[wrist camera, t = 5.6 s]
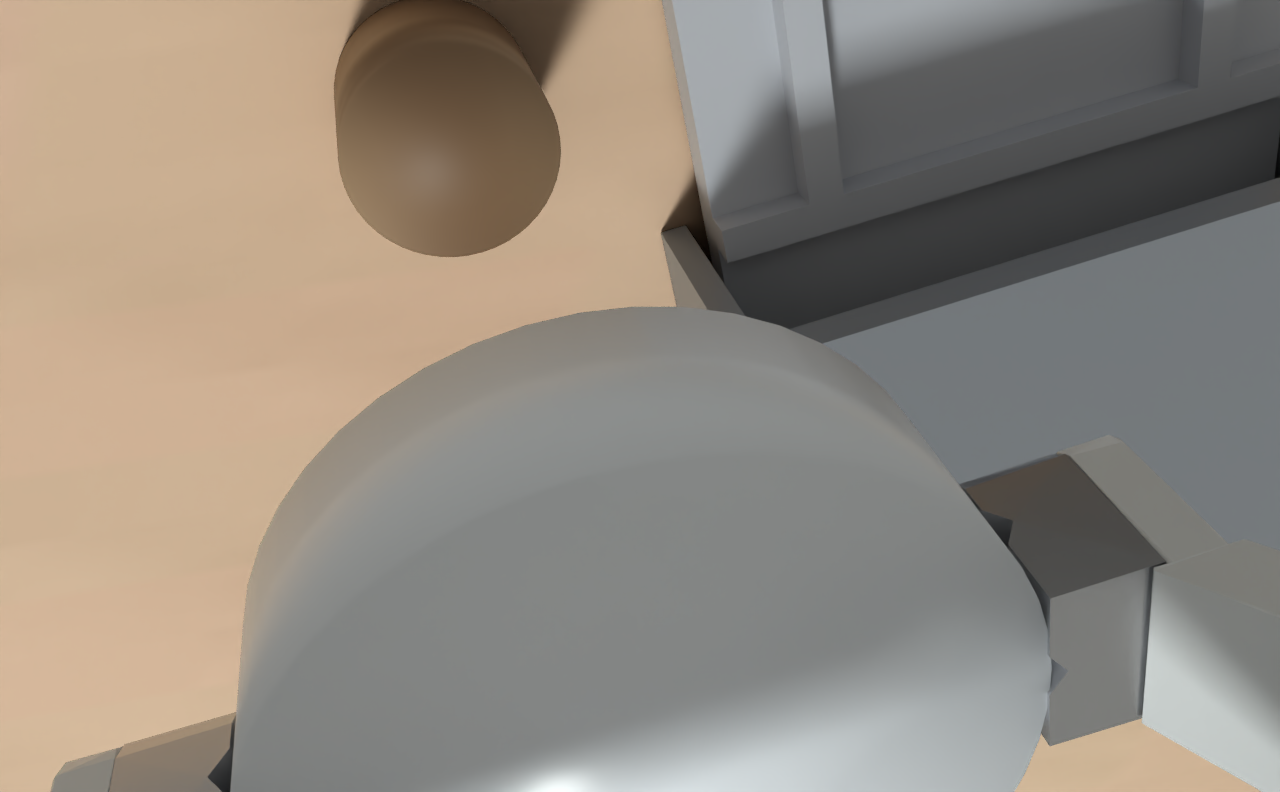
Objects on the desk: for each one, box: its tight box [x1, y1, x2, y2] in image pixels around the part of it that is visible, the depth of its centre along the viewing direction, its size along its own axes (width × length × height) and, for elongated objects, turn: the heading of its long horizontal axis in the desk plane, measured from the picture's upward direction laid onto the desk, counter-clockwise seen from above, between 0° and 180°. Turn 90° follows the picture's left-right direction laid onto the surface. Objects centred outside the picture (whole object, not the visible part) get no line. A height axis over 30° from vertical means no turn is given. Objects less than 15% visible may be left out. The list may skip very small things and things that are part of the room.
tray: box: [662, 0, 1280, 329], centre depth 23 cm, size 16×13×6 cm
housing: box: [661, 135, 1280, 551], centre depth 29 cm, size 16×13×6 cm
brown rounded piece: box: [334, 0, 561, 257], centre depth 23 cm, size 4×4×4 cm
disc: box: [230, 307, 1052, 792], centre depth 10 cm, size 6×6×2 cm
